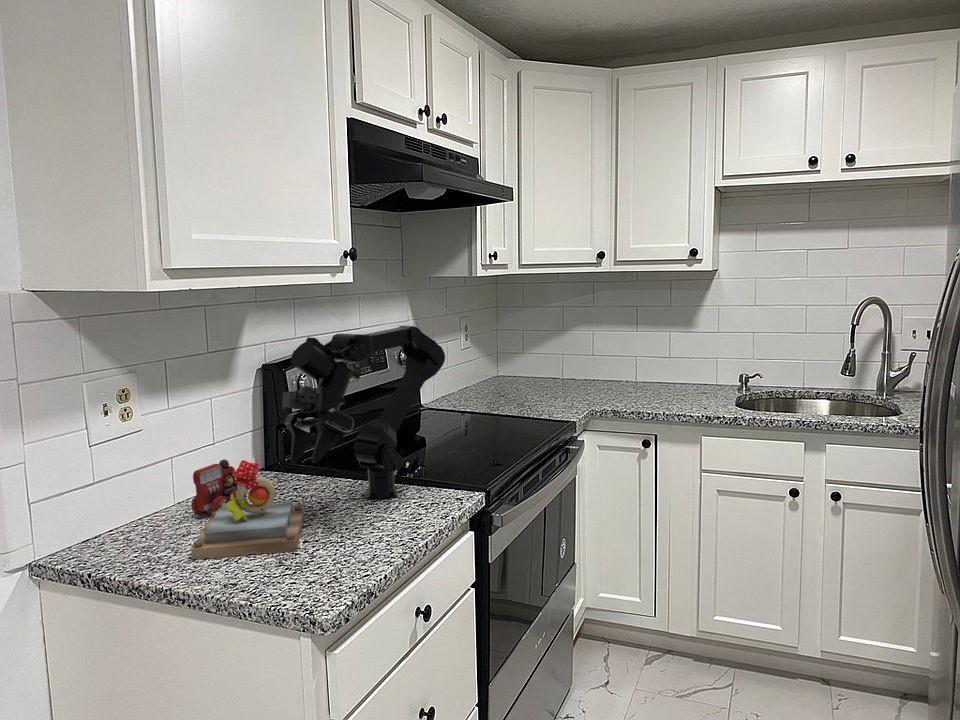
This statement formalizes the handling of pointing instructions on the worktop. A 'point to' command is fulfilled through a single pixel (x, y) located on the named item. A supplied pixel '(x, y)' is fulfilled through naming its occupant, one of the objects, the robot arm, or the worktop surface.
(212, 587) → the worktop surface
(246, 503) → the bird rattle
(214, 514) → the wooden toy tray
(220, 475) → the toy fire truck
